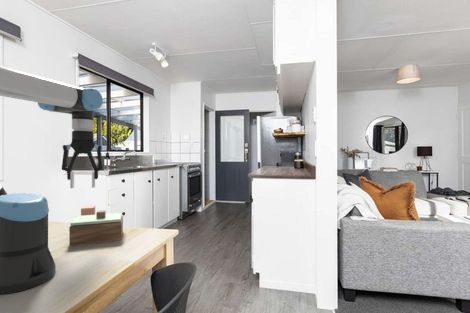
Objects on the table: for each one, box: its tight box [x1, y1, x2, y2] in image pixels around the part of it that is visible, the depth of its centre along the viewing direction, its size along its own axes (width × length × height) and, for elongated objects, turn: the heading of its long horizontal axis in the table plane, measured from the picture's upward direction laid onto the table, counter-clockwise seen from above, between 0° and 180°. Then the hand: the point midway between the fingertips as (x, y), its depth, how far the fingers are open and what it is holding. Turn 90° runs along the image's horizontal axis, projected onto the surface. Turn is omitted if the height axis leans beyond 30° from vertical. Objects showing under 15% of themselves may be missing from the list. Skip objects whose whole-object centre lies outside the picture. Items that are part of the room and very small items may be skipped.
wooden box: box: [68, 214, 124, 246], centre depth 105 cm, size 12×18×7 cm, turn 111°
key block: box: [80, 205, 96, 216], centre depth 117 cm, size 5×5×10 cm
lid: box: [70, 209, 123, 226], centre depth 105 cm, size 11×17×4 cm, turn 111°
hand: (83, 187), depth 103 cm, fingers open, 7 cm apart
